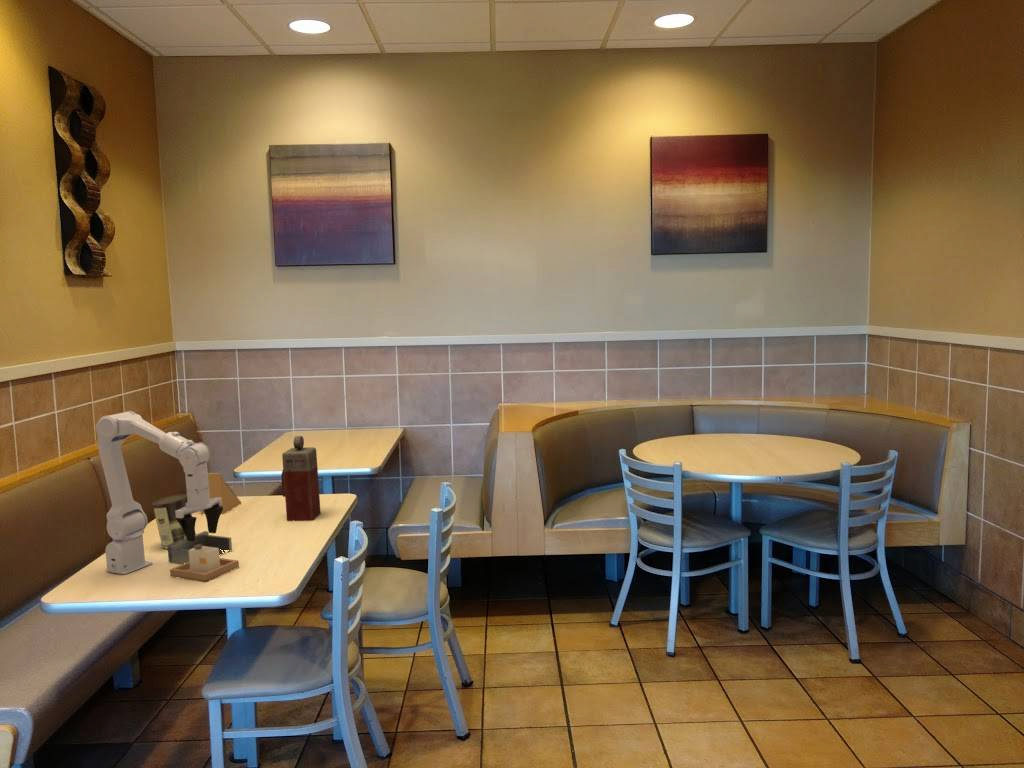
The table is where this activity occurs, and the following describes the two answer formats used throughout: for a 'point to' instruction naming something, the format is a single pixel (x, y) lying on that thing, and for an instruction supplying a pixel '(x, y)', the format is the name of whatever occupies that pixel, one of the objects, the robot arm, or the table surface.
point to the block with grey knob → (204, 558)
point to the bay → (181, 548)
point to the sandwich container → (221, 492)
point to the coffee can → (169, 518)
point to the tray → (185, 573)
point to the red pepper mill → (300, 482)
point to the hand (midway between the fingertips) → (201, 536)
